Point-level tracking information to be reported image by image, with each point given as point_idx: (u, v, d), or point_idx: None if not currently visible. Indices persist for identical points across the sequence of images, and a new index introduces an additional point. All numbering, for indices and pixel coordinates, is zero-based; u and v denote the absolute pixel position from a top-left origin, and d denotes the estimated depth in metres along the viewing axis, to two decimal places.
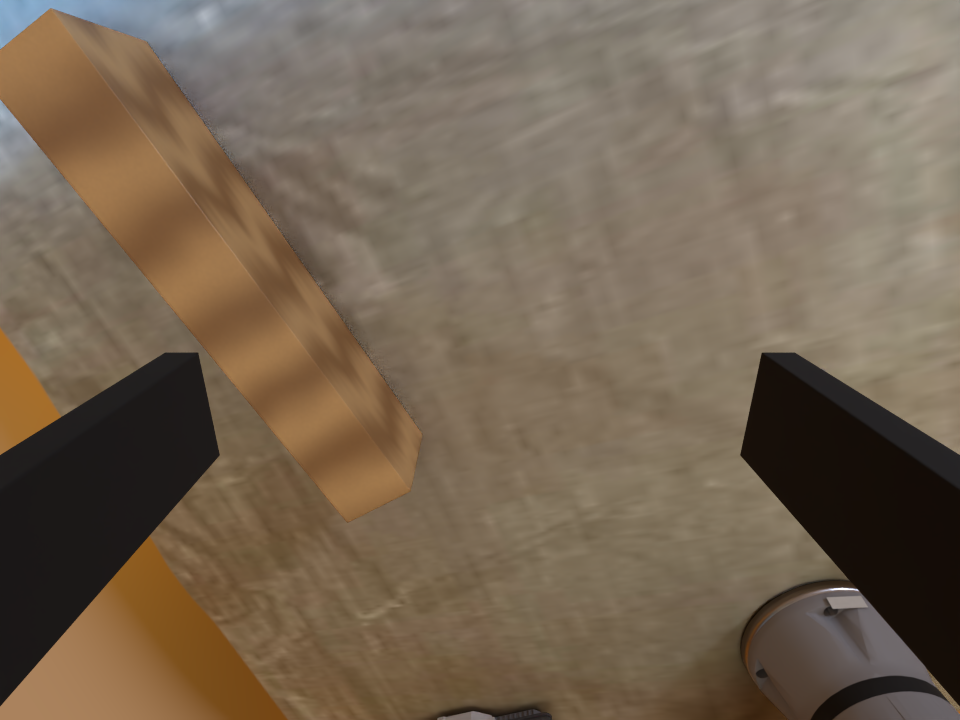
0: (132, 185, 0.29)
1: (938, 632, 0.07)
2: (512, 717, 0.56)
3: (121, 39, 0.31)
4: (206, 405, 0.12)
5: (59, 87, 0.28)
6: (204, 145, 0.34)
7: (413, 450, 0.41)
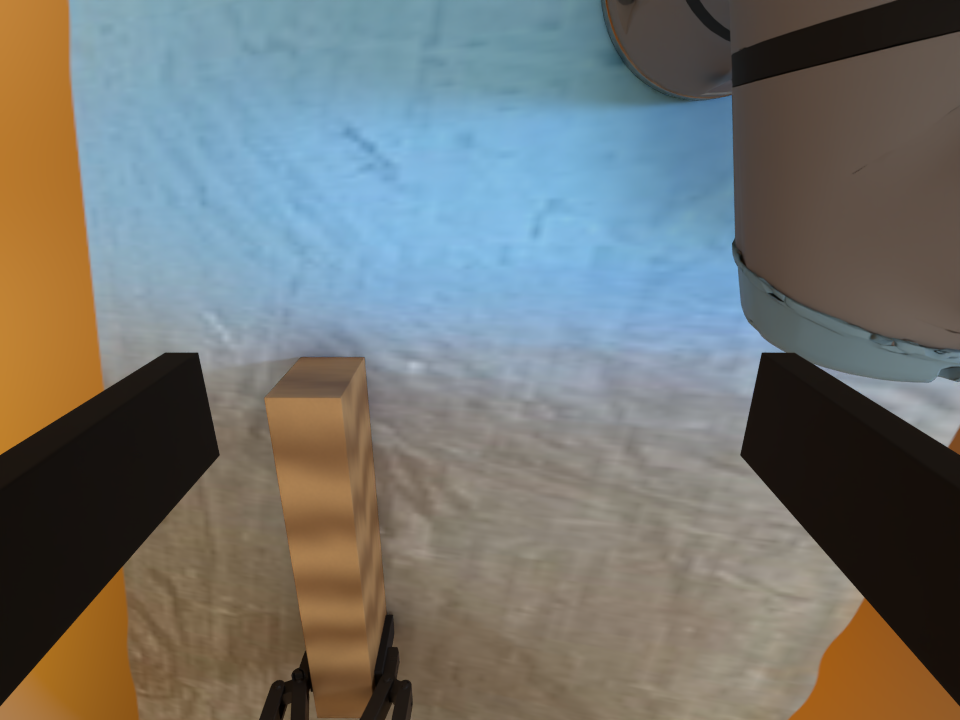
0: (319, 496, 0.40)
1: (938, 632, 0.07)
2: None
3: (357, 377, 0.42)
4: (207, 404, 0.12)
5: (313, 432, 0.38)
6: (366, 444, 0.45)
7: None
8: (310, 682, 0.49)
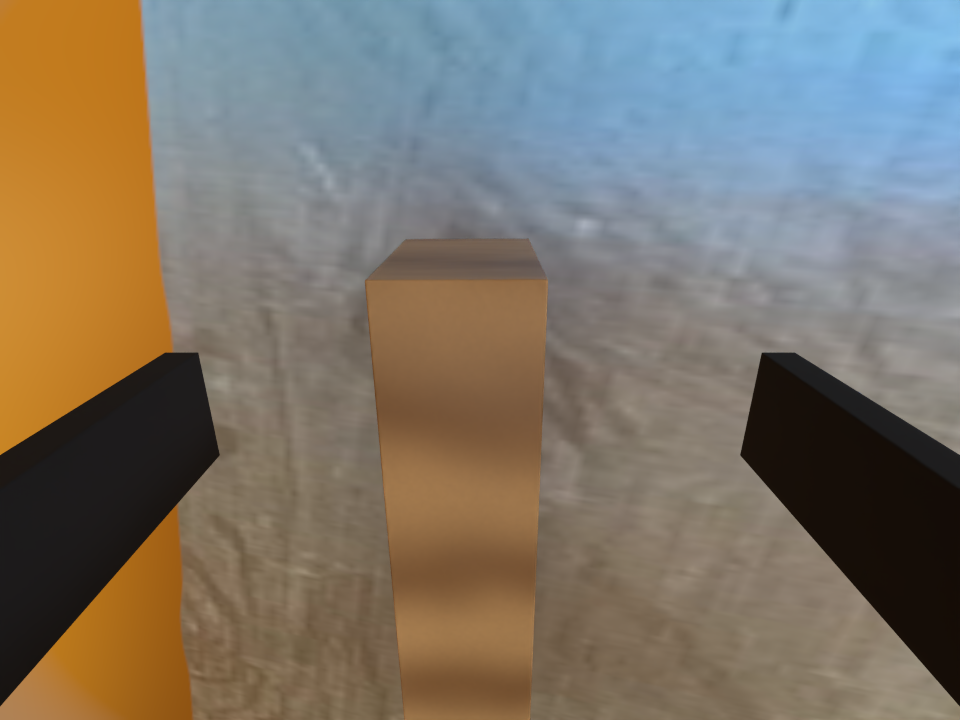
0: (470, 511, 0.19)
1: (938, 632, 0.07)
2: None
3: None
4: (206, 405, 0.12)
5: (472, 366, 0.17)
6: None
7: None
8: None
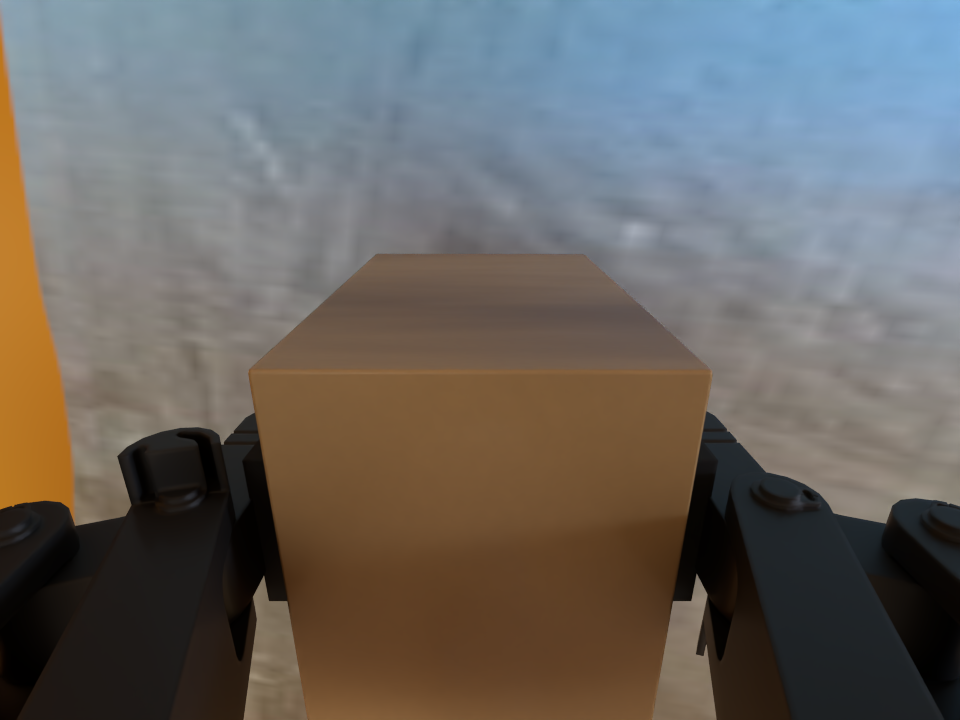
0: None
1: None
2: None
3: None
4: None
5: (512, 561, 0.07)
6: None
7: None
8: None
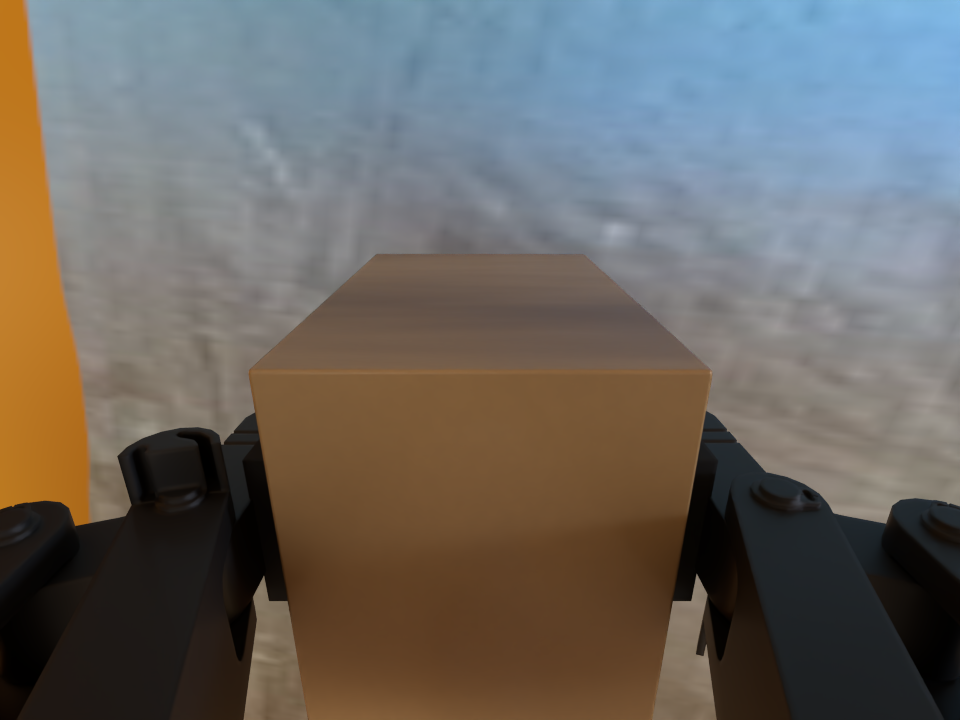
0: None
1: None
2: None
3: None
4: None
5: (513, 561, 0.07)
6: None
7: None
8: None
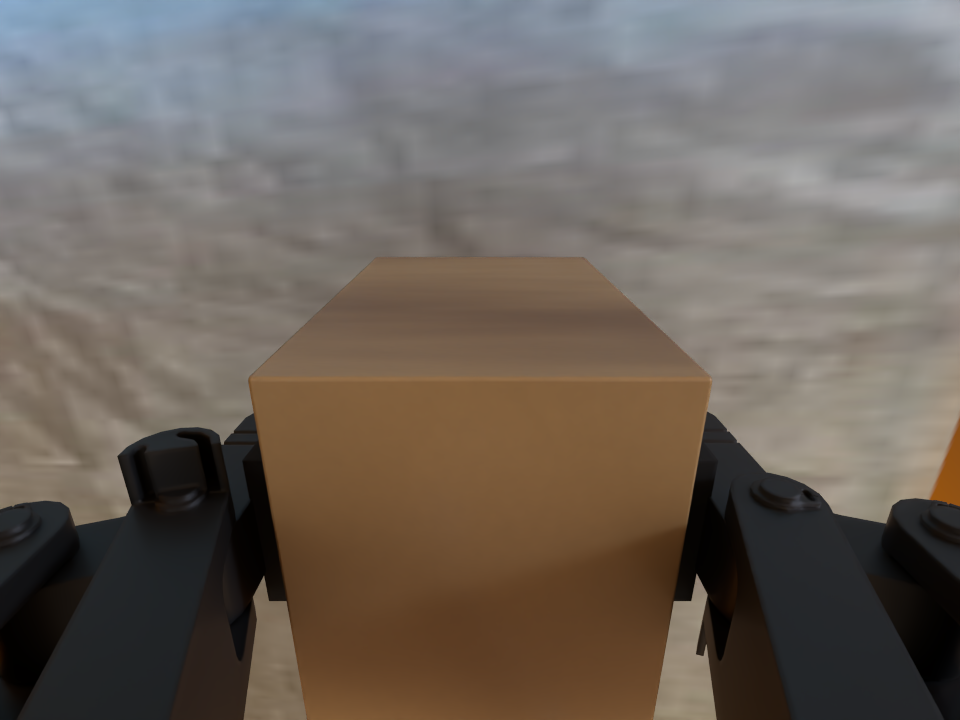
0: None
1: None
2: None
3: None
4: None
5: (512, 566, 0.07)
6: None
7: None
8: None
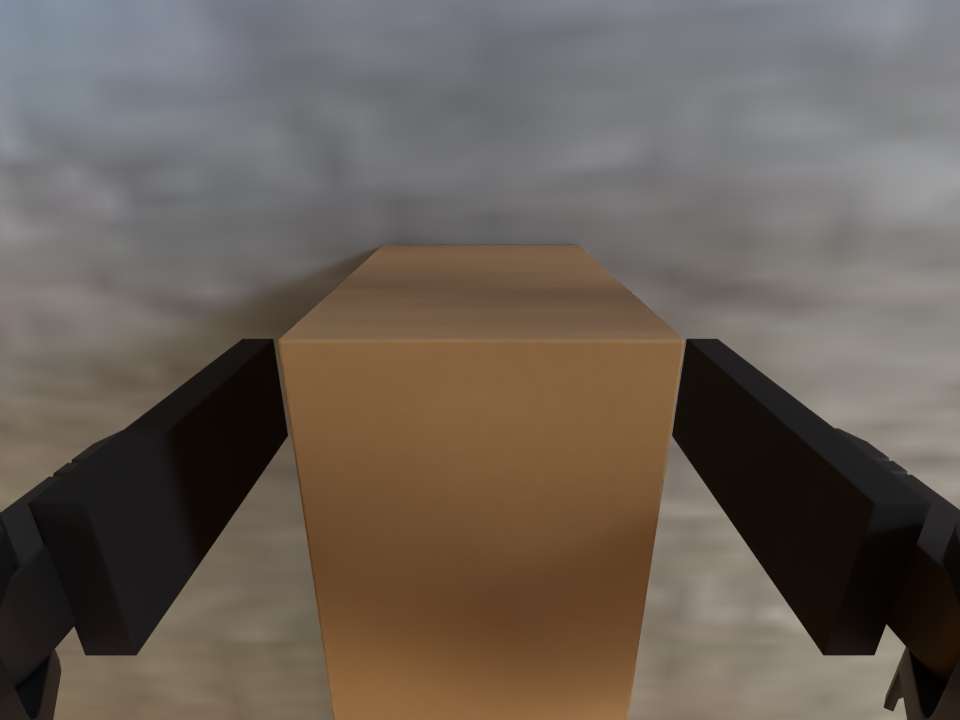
0: None
1: (801, 580, 0.08)
2: None
3: None
4: (278, 388, 0.13)
5: (510, 513, 0.08)
6: None
7: None
8: None
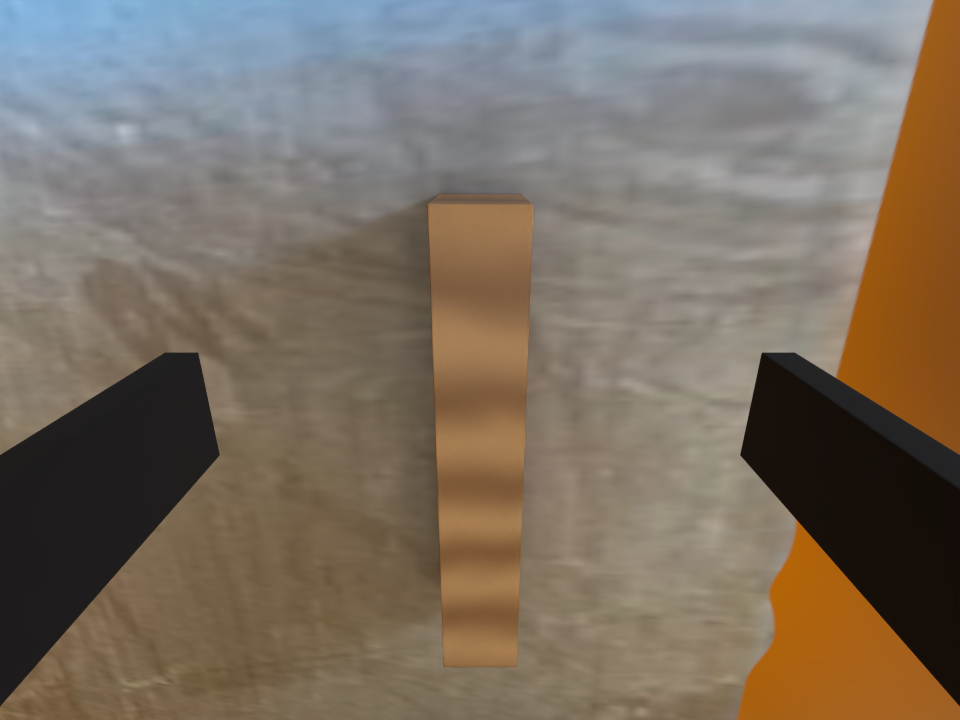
0: (485, 355, 0.30)
1: (938, 632, 0.07)
2: None
3: None
4: (206, 405, 0.12)
5: (488, 258, 0.28)
6: None
7: None
8: None
